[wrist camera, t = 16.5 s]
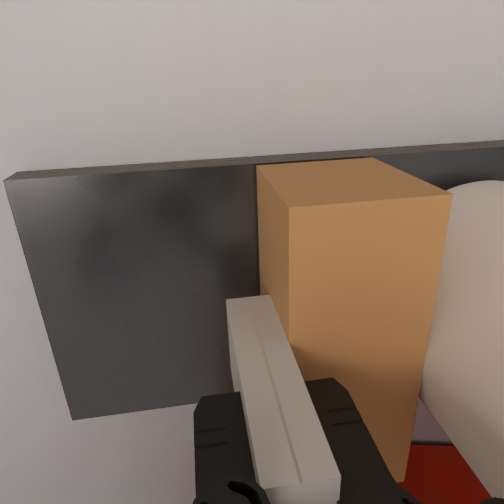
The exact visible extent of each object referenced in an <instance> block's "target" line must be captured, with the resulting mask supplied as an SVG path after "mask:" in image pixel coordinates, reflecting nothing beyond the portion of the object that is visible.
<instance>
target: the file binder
mask: <svg viewBox="0 0 504 504" xmlns="http://www.w3.org/2000/svg"><path fill="white" fill-rule="evenodd" d="M397 484H398V485H399V486H401V487H402V488H404V489H405V490H406V491H408V492H409V493H411V494H412V495H413V496H414V497H415V499H416V500H418V501H420V502H422V503H424V504H479V503H480V502H481V501H482V500H485V499H490V498H492V497H491V495H490V494H489V493H488V491H487V490H486V488H485V487H484V486H483V484H482V483H481V482H480V480H479V479H478V477H477V476H476V475H475V473H474V472H473V471H472V469H471V468H470V466H469V465H468V464H467V462H466V461H465V459H464V458H463V457H462V455H461V454H460V453H459V451H458V450H457V448H456V447H455V446H440V445H412V444H410V450H409V456H408V462H407V467H406V473H405V479H404V481H403V482H397Z"/></svg>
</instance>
